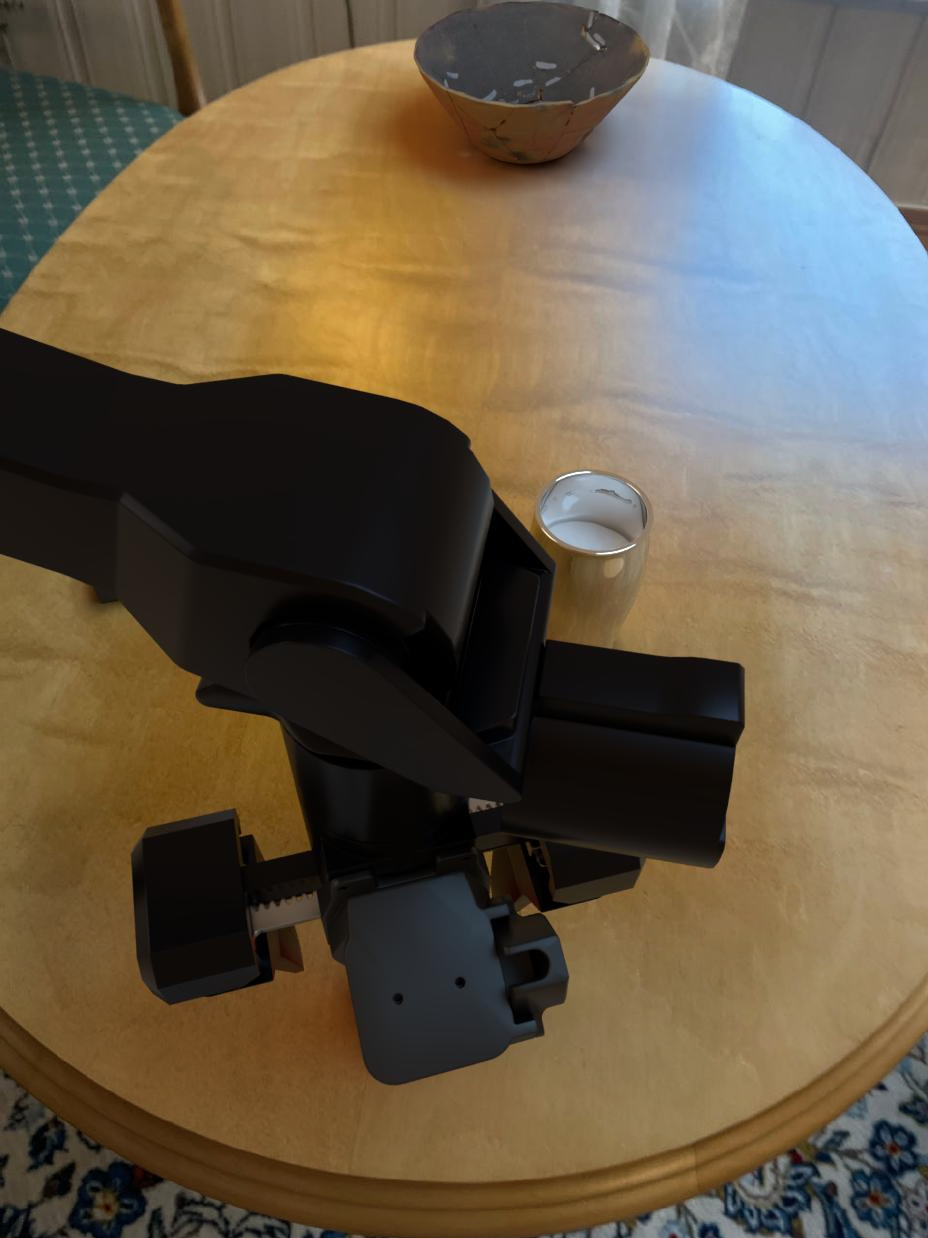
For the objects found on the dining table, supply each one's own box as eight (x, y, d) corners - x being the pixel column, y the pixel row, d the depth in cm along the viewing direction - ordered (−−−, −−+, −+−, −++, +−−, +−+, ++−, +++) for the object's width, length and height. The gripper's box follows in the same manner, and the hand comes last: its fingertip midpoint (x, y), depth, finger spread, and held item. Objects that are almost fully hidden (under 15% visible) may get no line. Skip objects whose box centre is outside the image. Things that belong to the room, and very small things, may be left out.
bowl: (526, 72, 120) (532, -19, 112) (681, 146, 109) (699, 50, 101) (368, 136, 110) (362, 40, 102) (522, 225, 99) (529, 125, 91)
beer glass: (567, 730, 62) (595, 578, 50) (493, 663, 65) (504, 504, 53) (641, 672, 65) (684, 514, 53) (567, 610, 68) (592, 448, 56)
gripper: (89, 1108, 25) (207, 1197, 37) (756, 930, 28) (661, 1066, 40) (81, 743, 32) (183, 921, 44) (621, 632, 35) (575, 827, 47)
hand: (400, 935), depth 44 cm, fingers open, 9 cm apart
